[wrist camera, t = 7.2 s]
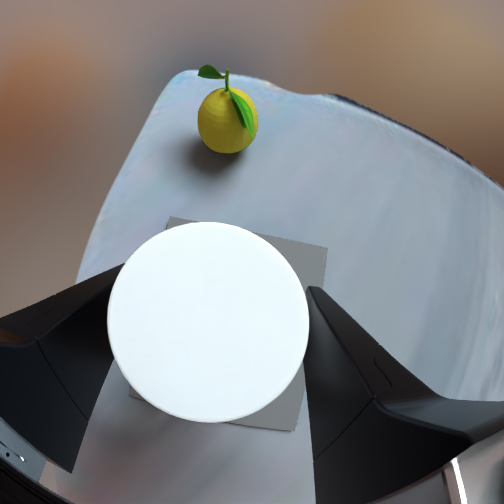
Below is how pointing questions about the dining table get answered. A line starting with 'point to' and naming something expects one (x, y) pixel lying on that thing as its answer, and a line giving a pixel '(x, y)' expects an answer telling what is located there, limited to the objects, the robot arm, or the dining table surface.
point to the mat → (289, 401)
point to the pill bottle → (208, 322)
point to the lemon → (226, 116)
